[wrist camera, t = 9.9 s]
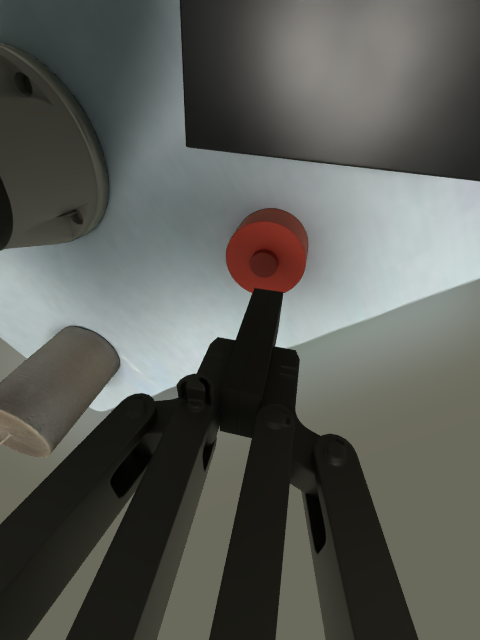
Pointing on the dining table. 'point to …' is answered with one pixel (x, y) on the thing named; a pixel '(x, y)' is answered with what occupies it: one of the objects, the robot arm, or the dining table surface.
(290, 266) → the lid
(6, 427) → the pillar candle
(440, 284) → the dining table surface
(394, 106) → the black drawer cabinet
